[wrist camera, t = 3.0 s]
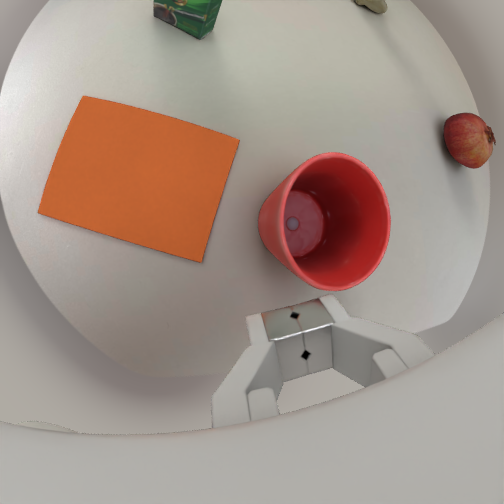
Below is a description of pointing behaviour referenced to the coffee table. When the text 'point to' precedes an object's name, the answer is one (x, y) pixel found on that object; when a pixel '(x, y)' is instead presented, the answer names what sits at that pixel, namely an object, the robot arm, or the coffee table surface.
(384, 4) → the sculpture
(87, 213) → the cloth
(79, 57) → the coffee table surface
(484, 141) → the fruit
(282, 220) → the flower pot
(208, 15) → the coffee box
